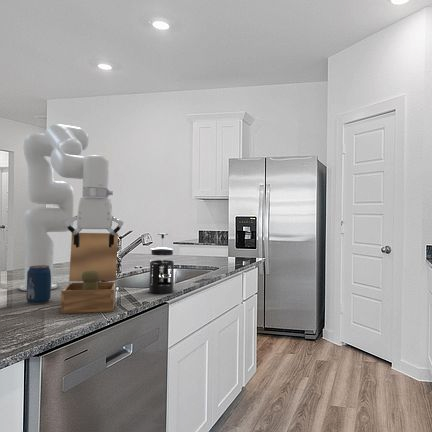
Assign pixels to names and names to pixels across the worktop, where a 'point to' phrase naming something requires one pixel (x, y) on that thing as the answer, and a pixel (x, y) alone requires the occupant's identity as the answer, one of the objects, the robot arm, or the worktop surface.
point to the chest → (88, 298)
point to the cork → (90, 280)
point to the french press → (163, 286)
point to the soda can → (38, 284)
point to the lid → (94, 256)
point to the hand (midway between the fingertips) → (94, 247)
